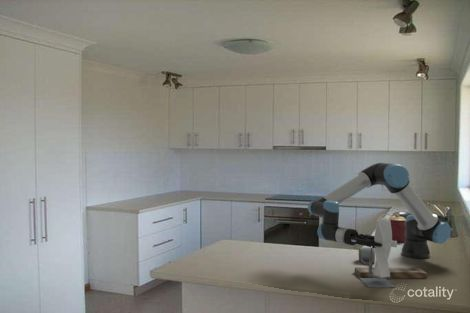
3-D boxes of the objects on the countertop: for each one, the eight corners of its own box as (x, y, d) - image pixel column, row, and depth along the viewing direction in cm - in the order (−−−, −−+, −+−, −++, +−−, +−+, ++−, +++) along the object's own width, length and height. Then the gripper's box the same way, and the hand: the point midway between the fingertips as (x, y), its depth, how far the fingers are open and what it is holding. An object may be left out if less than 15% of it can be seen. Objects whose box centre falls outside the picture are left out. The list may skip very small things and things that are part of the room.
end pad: (384, 279, 211) (384, 278, 211) (395, 287, 199) (395, 286, 199) (359, 278, 210) (359, 278, 210) (368, 287, 198) (368, 286, 198)
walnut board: (418, 273, 222) (418, 267, 222) (426, 278, 214) (426, 272, 214) (354, 272, 220) (354, 267, 220) (360, 277, 212) (360, 272, 212)
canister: (382, 238, 301) (383, 212, 301) (399, 238, 304) (400, 211, 303) (392, 242, 289) (393, 215, 288) (410, 242, 291) (411, 215, 290)
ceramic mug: (357, 259, 246) (358, 245, 246) (373, 260, 244) (374, 246, 244) (359, 264, 236) (359, 250, 235) (375, 265, 234) (376, 251, 234)
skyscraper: (380, 272, 210) (383, 212, 209) (394, 277, 203) (397, 215, 202) (367, 274, 206) (369, 213, 205) (380, 280, 199) (383, 216, 198)
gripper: (357, 241, 223) (402, 250, 207) (335, 246, 210) (382, 257, 194) (358, 226, 223) (403, 234, 206) (336, 230, 210) (382, 239, 193)
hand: (393, 245), depth 200 cm, fingers closed on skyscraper, 6 cm apart
